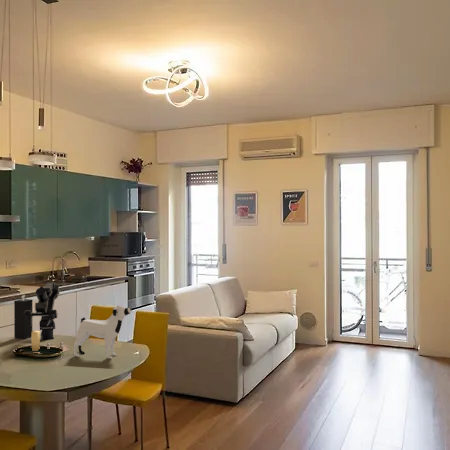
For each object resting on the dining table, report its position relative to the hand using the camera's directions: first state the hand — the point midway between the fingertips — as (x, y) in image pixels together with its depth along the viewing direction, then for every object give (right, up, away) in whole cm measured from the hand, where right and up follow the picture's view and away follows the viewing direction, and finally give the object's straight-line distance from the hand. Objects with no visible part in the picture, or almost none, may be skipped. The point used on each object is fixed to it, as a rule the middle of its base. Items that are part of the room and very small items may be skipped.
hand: (38, 326), depth 275 cm
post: (+2, -12, -8) cm, 15 cm away
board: (+6, -13, -6) cm, 16 cm away
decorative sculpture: (+43, -14, -16) cm, 48 cm away
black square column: (-21, -14, +27) cm, 37 cm away
